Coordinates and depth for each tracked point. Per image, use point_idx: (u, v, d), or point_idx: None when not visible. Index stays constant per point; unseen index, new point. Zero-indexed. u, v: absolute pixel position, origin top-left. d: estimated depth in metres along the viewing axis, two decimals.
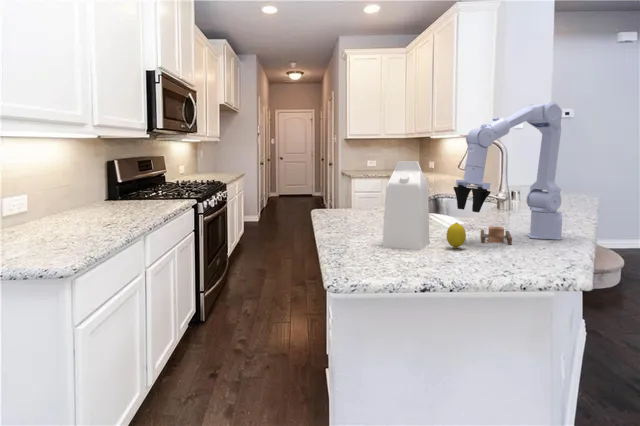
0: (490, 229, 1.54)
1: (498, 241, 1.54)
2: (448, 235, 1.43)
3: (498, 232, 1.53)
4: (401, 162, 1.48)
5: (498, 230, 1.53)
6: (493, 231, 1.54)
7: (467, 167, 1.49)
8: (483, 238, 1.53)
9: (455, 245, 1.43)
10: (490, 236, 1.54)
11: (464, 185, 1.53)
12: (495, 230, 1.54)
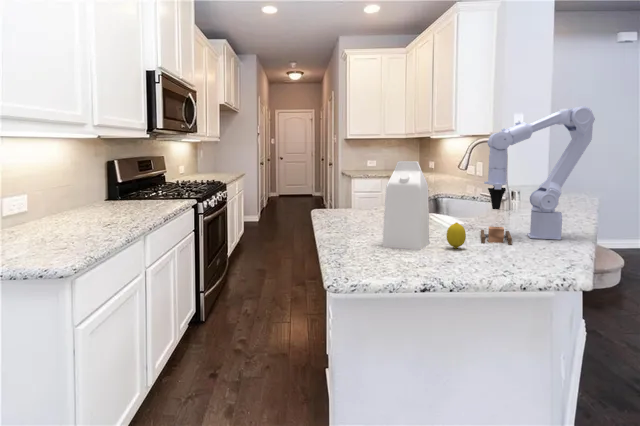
0: (490, 229, 1.54)
1: (498, 241, 1.54)
2: (448, 235, 1.43)
3: (498, 232, 1.53)
4: (401, 162, 1.48)
5: (498, 230, 1.53)
6: (493, 231, 1.54)
7: None
8: (483, 238, 1.53)
9: (455, 245, 1.43)
10: (490, 236, 1.54)
11: None
12: (495, 230, 1.54)
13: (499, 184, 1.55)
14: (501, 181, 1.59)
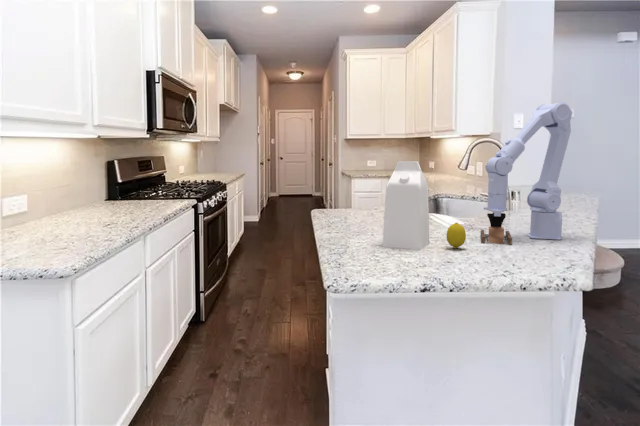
0: (490, 229, 1.53)
1: (498, 241, 1.53)
2: (448, 235, 1.43)
3: (498, 232, 1.52)
4: (401, 162, 1.48)
5: (498, 230, 1.52)
6: (493, 231, 1.53)
7: (488, 195, 1.57)
8: (483, 238, 1.53)
9: (455, 245, 1.43)
10: (490, 236, 1.53)
11: None
12: (495, 230, 1.52)
13: (499, 211, 1.50)
14: (501, 207, 1.54)
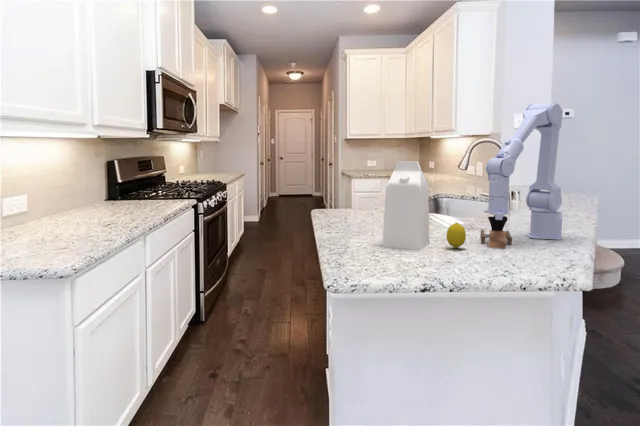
0: (491, 233, 1.46)
1: (499, 246, 1.46)
2: (448, 235, 1.43)
3: (500, 236, 1.45)
4: (401, 162, 1.48)
5: (499, 234, 1.45)
6: (494, 235, 1.46)
7: None
8: (483, 238, 1.53)
9: (455, 245, 1.43)
10: (491, 241, 1.46)
11: None
12: (496, 234, 1.46)
13: (500, 214, 1.43)
14: (502, 210, 1.47)
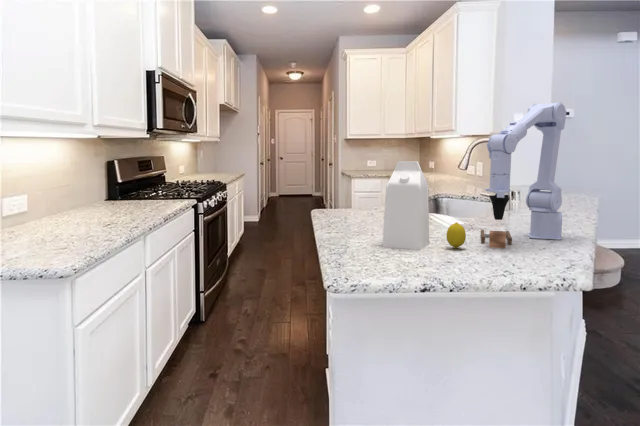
0: (491, 234, 1.46)
1: (499, 246, 1.46)
2: (448, 235, 1.43)
3: (500, 236, 1.45)
4: (401, 162, 1.48)
5: (499, 235, 1.45)
6: (494, 236, 1.46)
7: (490, 175, 1.46)
8: (483, 238, 1.53)
9: (455, 245, 1.43)
10: (491, 241, 1.46)
11: None
12: (496, 235, 1.46)
13: (502, 192, 1.39)
14: (504, 188, 1.43)
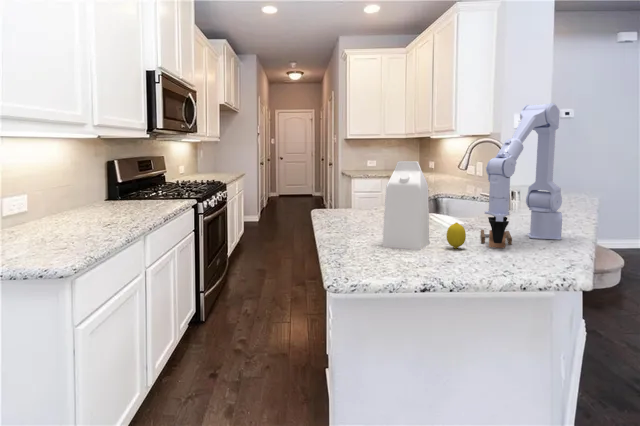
0: (491, 233, 1.47)
1: (499, 246, 1.46)
2: (448, 235, 1.43)
3: None
4: (401, 162, 1.48)
5: None
6: None
7: (489, 198, 1.47)
8: (483, 238, 1.53)
9: (455, 245, 1.43)
10: (491, 240, 1.47)
11: None
12: None
13: (501, 216, 1.40)
14: (503, 211, 1.44)
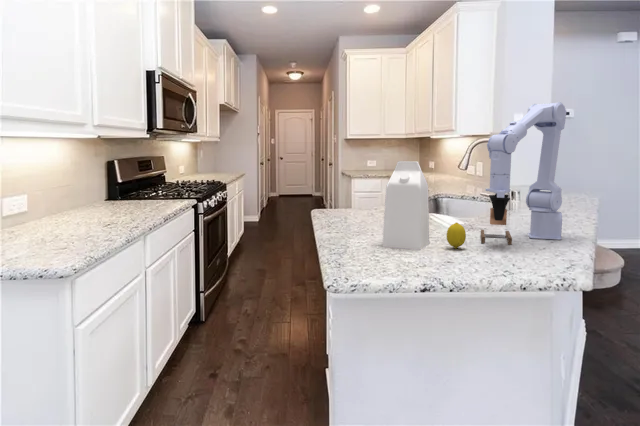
0: (492, 210, 1.46)
1: (500, 223, 1.45)
2: (448, 235, 1.43)
3: None
4: (401, 162, 1.48)
5: None
6: None
7: (490, 175, 1.46)
8: (483, 238, 1.53)
9: (455, 245, 1.43)
10: (492, 218, 1.46)
11: None
12: None
13: (502, 192, 1.39)
14: (504, 188, 1.43)
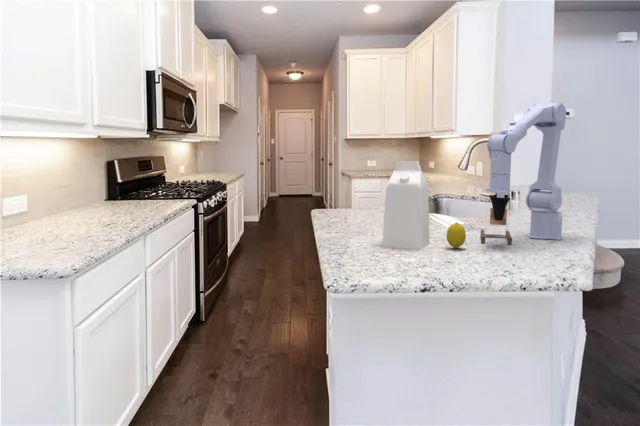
0: (492, 210, 1.46)
1: (500, 223, 1.45)
2: (448, 235, 1.43)
3: None
4: (401, 162, 1.48)
5: None
6: None
7: (490, 175, 1.46)
8: (483, 238, 1.53)
9: (455, 245, 1.43)
10: (492, 218, 1.46)
11: None
12: None
13: (502, 192, 1.39)
14: (504, 188, 1.43)
